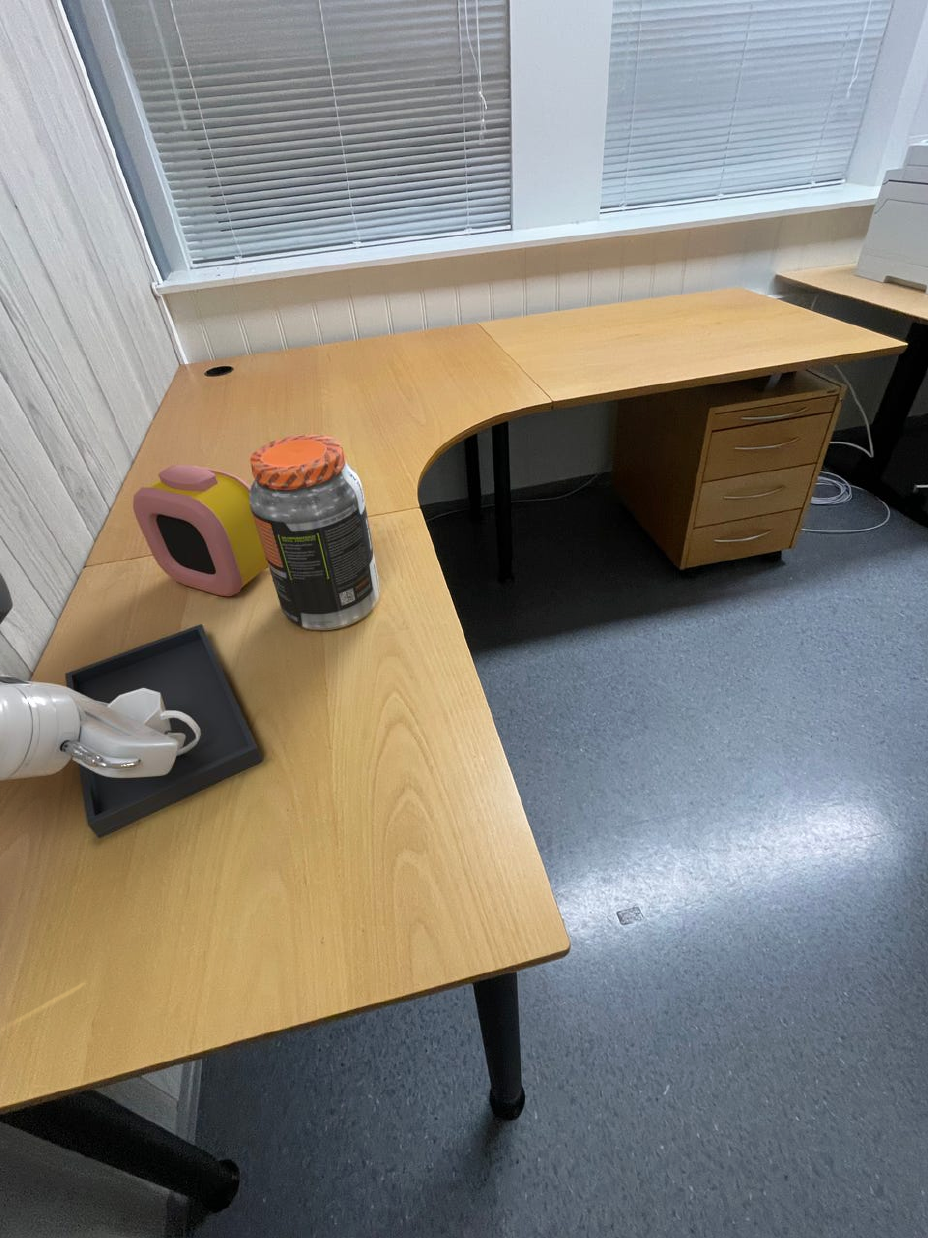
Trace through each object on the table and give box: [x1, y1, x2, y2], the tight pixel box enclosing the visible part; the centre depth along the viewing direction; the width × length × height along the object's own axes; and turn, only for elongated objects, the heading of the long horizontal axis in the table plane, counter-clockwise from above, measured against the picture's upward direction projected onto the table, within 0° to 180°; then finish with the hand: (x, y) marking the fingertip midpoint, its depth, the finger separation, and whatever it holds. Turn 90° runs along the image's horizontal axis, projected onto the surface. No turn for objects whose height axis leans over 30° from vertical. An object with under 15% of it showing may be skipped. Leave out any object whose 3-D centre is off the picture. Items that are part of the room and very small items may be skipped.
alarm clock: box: [132, 464, 269, 597], centre depth 98 cm, size 18×11×19 cm, turn 65°
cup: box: [107, 688, 201, 756], centre depth 71 cm, size 7×10×8 cm
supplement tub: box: [249, 434, 380, 631], centre depth 89 cm, size 16×16×26 cm
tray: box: [64, 623, 263, 839], centre depth 78 cm, size 28×19×3 cm
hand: (152, 725), depth 71 cm, fingers open, 8 cm apart
